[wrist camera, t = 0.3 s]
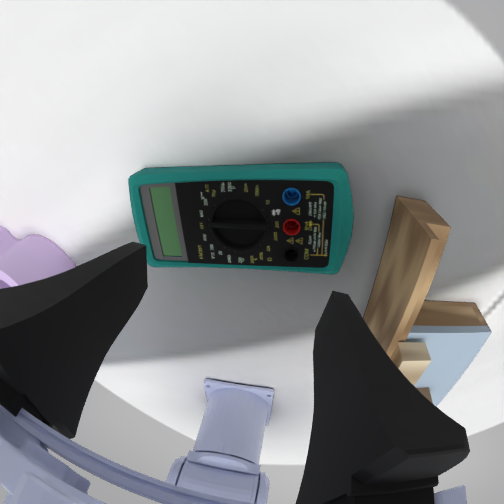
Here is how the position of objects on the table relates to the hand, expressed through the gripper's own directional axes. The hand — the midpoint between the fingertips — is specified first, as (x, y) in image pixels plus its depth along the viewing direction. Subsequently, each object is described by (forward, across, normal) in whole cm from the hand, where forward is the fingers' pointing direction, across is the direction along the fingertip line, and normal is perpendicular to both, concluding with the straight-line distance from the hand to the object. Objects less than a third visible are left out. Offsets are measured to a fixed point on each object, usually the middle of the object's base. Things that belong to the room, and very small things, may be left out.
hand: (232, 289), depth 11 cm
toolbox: (+10, -16, +7) cm, 20 cm away
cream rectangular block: (+5, -13, +8) cm, 16 cm away
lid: (+8, -18, +11) cm, 22 cm away
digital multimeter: (+11, +2, +1) cm, 11 cm away
